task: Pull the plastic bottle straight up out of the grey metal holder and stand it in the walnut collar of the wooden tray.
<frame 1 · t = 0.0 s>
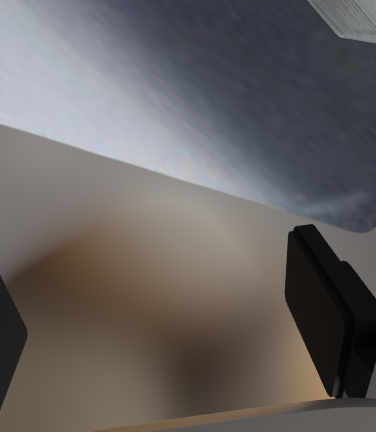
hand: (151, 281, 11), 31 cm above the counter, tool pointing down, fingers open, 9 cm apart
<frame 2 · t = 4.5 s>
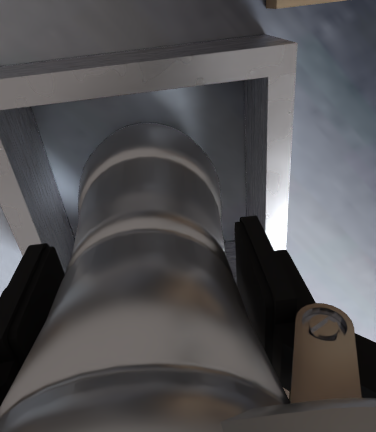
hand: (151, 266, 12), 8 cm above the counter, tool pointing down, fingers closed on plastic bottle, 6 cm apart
holder: (151, 174, 19), on the counter
plastic bottle: (152, 173, 19), resting in holder, touching gripper
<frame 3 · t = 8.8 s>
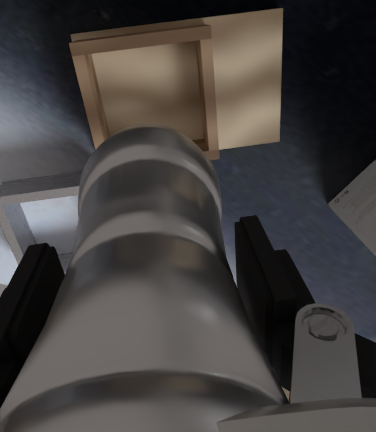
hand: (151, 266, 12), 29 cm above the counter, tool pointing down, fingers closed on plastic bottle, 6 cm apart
wooden tray: (151, 94, 37), on the counter
holder: (68, 219, 44), on the counter
plastic bottle: (151, 174, 19), point 21 cm above the counter, touching gripper
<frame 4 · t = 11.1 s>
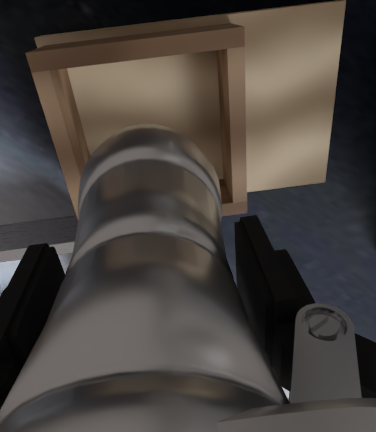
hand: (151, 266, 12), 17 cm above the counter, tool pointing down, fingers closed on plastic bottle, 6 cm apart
wooden tray: (152, 120, 27), on the counter
holder: (44, 275, 34), on the counter
plastic bottle: (151, 174, 19), point 10 cm above the counter, touching gripper
when the fingers open (10 cm above the counter, at t = 13.1 s): plastic bottle stays where it is, resting on wooden tray.
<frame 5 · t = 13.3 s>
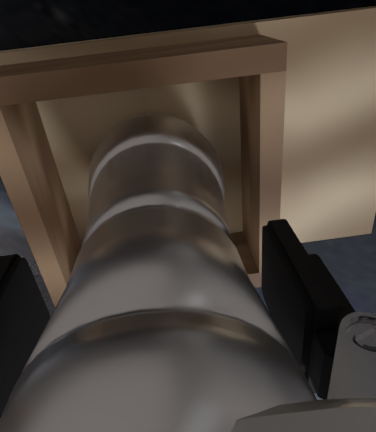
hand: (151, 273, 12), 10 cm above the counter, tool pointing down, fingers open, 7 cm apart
wooden tray: (151, 158, 21), on the counter
plastic bottle: (157, 163, 19), point 1 cm above the counter, touching wooden tray
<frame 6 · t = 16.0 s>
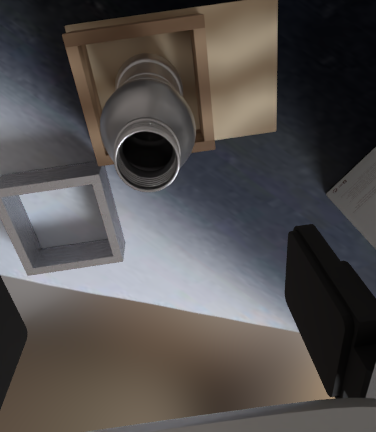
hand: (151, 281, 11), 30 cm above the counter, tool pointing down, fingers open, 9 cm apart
wooden tray: (146, 85, 37), on the counter
holder: (67, 211, 44), on the counter
plastic bottle: (149, 85, 36), point 1 cm above the counter, touching wooden tray
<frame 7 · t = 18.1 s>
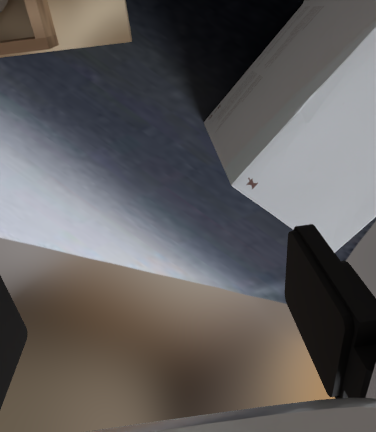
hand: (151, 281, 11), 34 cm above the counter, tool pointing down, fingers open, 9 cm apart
supplement box: (285, 99, 43), on the counter
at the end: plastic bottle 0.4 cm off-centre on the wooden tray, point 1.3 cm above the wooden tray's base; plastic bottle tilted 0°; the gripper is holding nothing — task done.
